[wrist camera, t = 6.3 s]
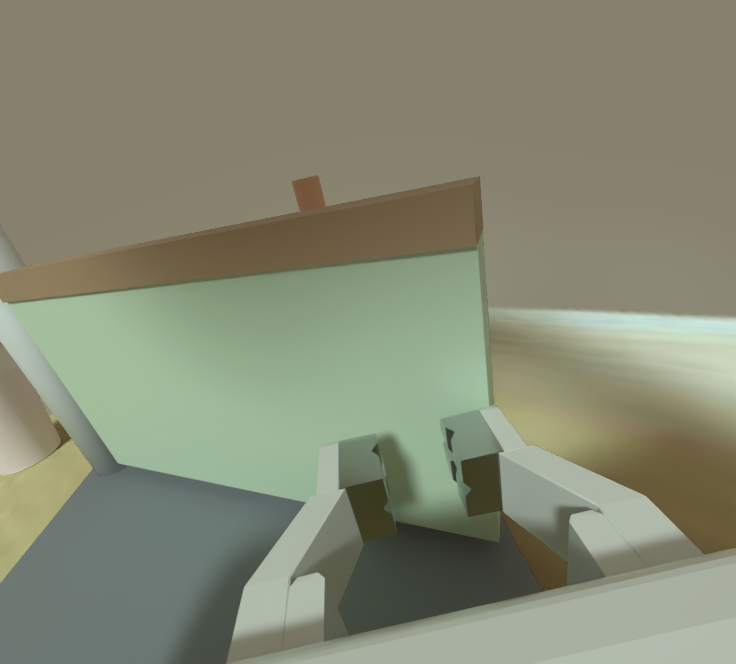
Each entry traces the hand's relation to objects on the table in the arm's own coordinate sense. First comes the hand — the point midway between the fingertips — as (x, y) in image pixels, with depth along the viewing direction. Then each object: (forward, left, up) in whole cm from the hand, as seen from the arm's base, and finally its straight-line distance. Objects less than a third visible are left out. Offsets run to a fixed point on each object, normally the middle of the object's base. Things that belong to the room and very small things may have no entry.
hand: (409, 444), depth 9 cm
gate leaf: (-6, +5, -5) cm, 10 cm away
